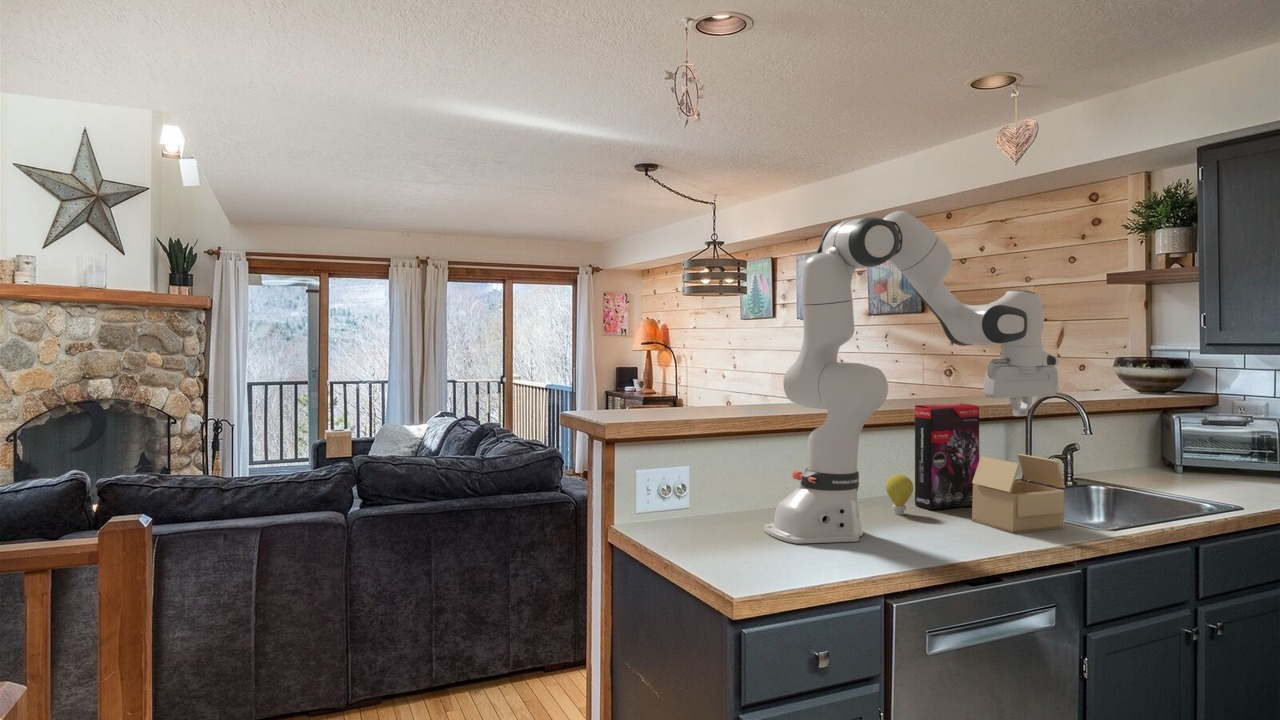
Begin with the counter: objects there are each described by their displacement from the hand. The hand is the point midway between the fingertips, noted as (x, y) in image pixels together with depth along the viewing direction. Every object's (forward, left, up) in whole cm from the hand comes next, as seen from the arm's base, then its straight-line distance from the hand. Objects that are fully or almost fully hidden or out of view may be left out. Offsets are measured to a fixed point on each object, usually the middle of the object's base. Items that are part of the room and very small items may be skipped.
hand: (1020, 415), depth 175 cm
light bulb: (-20, +18, -27) cm, 38 cm away
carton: (0, 0, -26) cm, 26 cm away
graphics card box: (-2, +21, -27) cm, 34 cm away
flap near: (-9, 0, -17) cm, 19 cm away
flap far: (+8, 0, -17) cm, 19 cm away
